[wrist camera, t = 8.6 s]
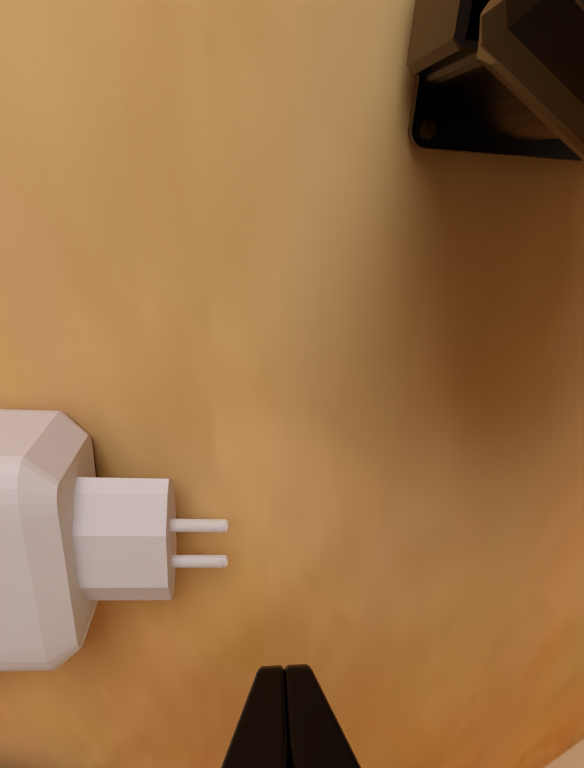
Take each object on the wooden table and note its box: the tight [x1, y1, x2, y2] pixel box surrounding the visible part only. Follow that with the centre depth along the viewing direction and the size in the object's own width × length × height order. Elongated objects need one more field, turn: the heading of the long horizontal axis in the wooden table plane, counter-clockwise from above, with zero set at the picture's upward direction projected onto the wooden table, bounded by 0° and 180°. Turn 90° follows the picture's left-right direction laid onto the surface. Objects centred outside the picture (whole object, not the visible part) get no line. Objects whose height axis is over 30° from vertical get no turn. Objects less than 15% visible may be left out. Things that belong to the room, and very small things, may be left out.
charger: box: [0, 409, 229, 671], centre depth 19 cm, size 5×9×15 cm
